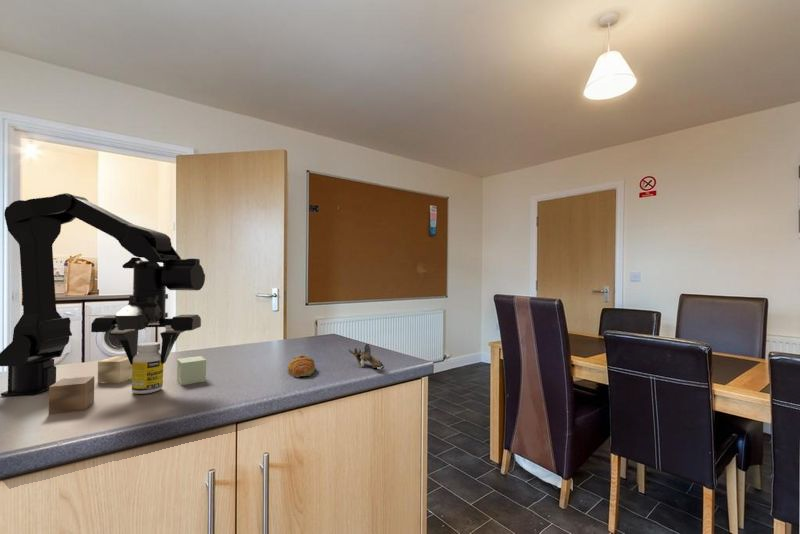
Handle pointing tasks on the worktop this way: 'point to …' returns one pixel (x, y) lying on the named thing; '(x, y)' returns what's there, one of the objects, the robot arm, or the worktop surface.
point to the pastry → (301, 366)
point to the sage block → (191, 370)
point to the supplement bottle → (147, 369)
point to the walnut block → (71, 395)
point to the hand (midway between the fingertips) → (148, 363)
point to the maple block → (114, 369)
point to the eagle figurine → (366, 356)
